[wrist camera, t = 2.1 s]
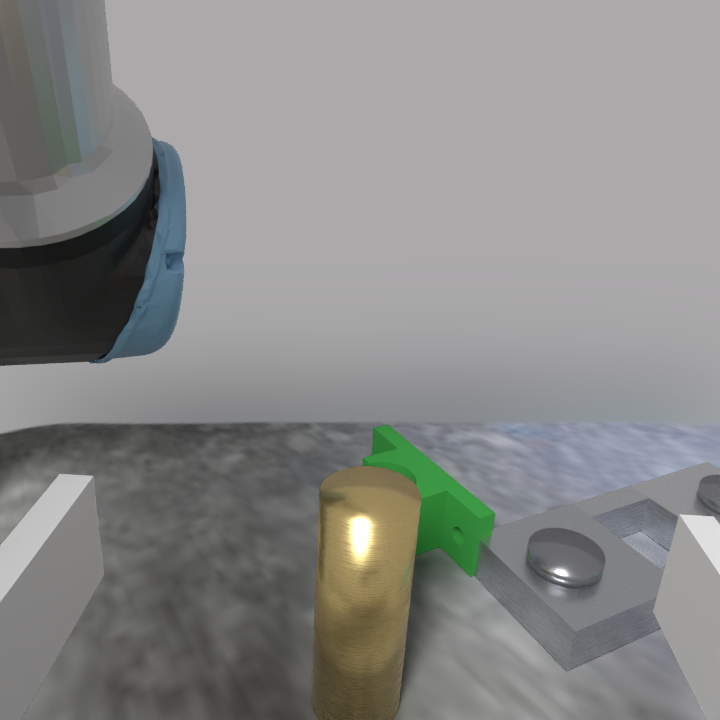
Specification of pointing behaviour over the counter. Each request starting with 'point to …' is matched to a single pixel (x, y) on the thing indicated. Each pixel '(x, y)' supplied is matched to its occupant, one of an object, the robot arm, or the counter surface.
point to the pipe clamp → (435, 500)
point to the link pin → (363, 592)
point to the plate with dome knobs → (592, 563)
